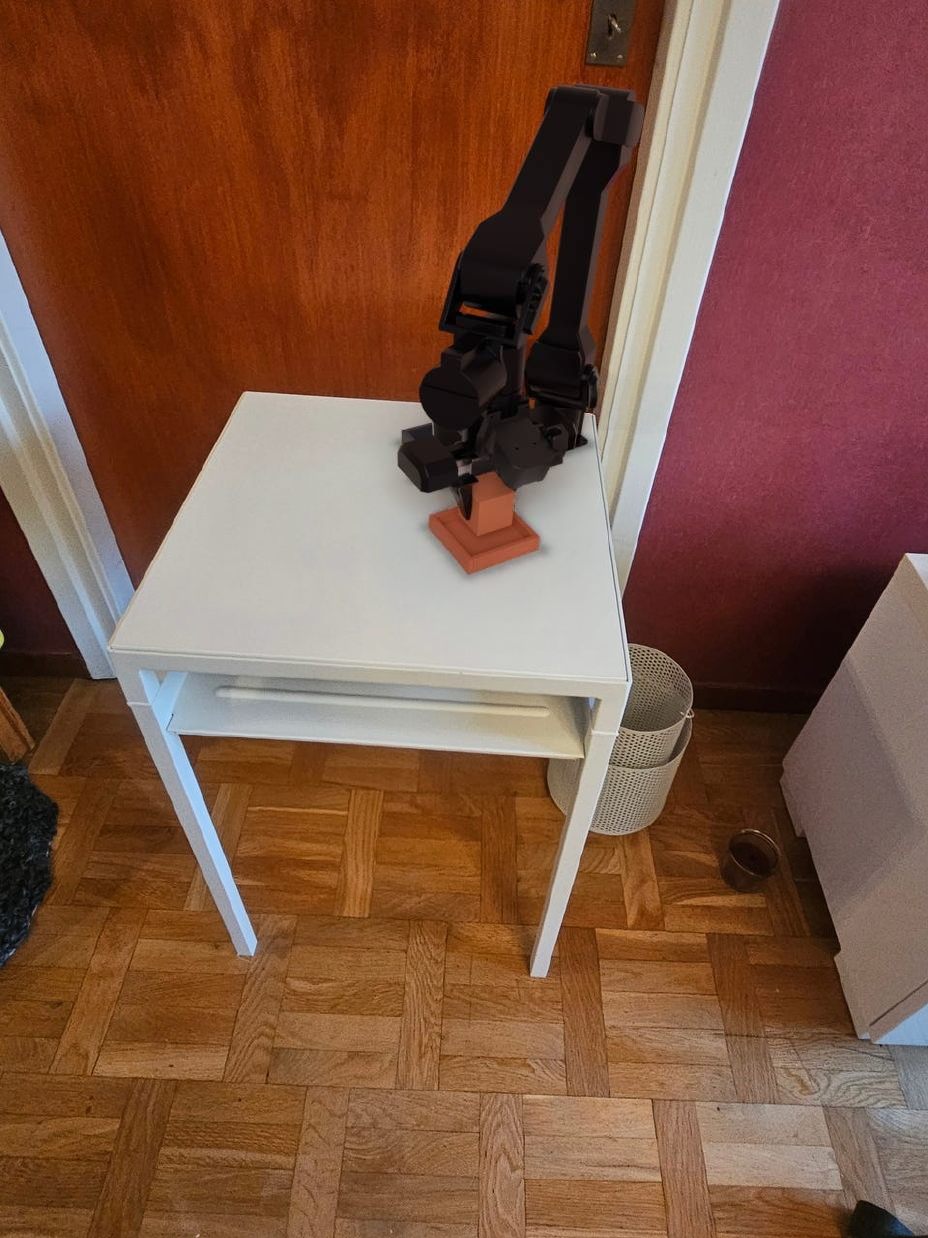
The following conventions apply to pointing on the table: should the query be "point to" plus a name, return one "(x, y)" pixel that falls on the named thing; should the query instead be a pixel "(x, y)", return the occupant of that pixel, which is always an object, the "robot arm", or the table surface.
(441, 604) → the table surface
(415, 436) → the charcoal tray
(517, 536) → the terracotta tray
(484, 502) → the terracotta block
